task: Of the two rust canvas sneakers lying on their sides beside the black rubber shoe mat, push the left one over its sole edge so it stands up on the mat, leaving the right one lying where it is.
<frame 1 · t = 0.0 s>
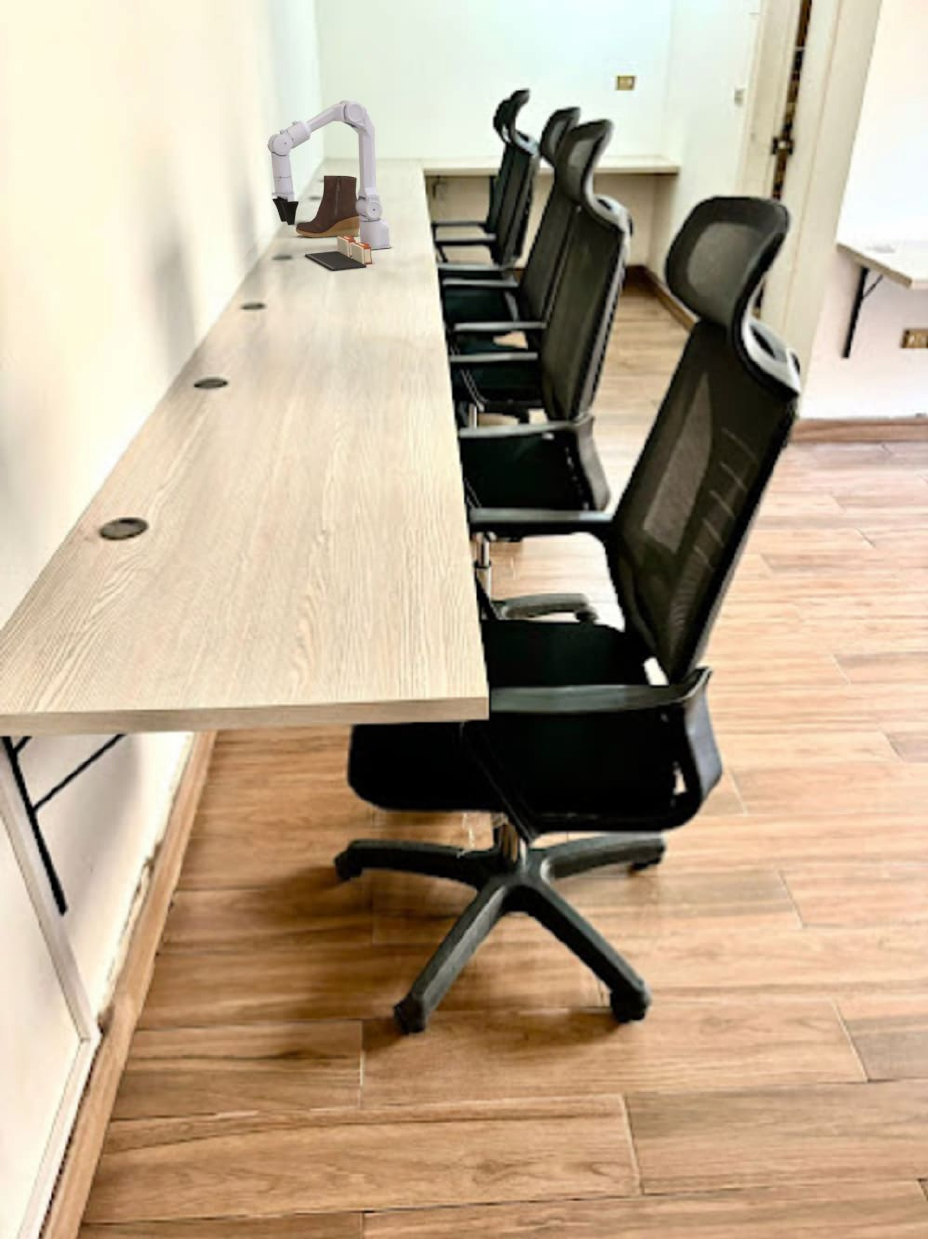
hand: (287, 223, 305), 10 cm above the table, tool pointing down, fingers open, 7 cm apart
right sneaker: (348, 254, 311), on the table
shoe mat: (334, 261, 302), on the table
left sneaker: (363, 261, 300), on the table
boot: (329, 236, 342), on the table
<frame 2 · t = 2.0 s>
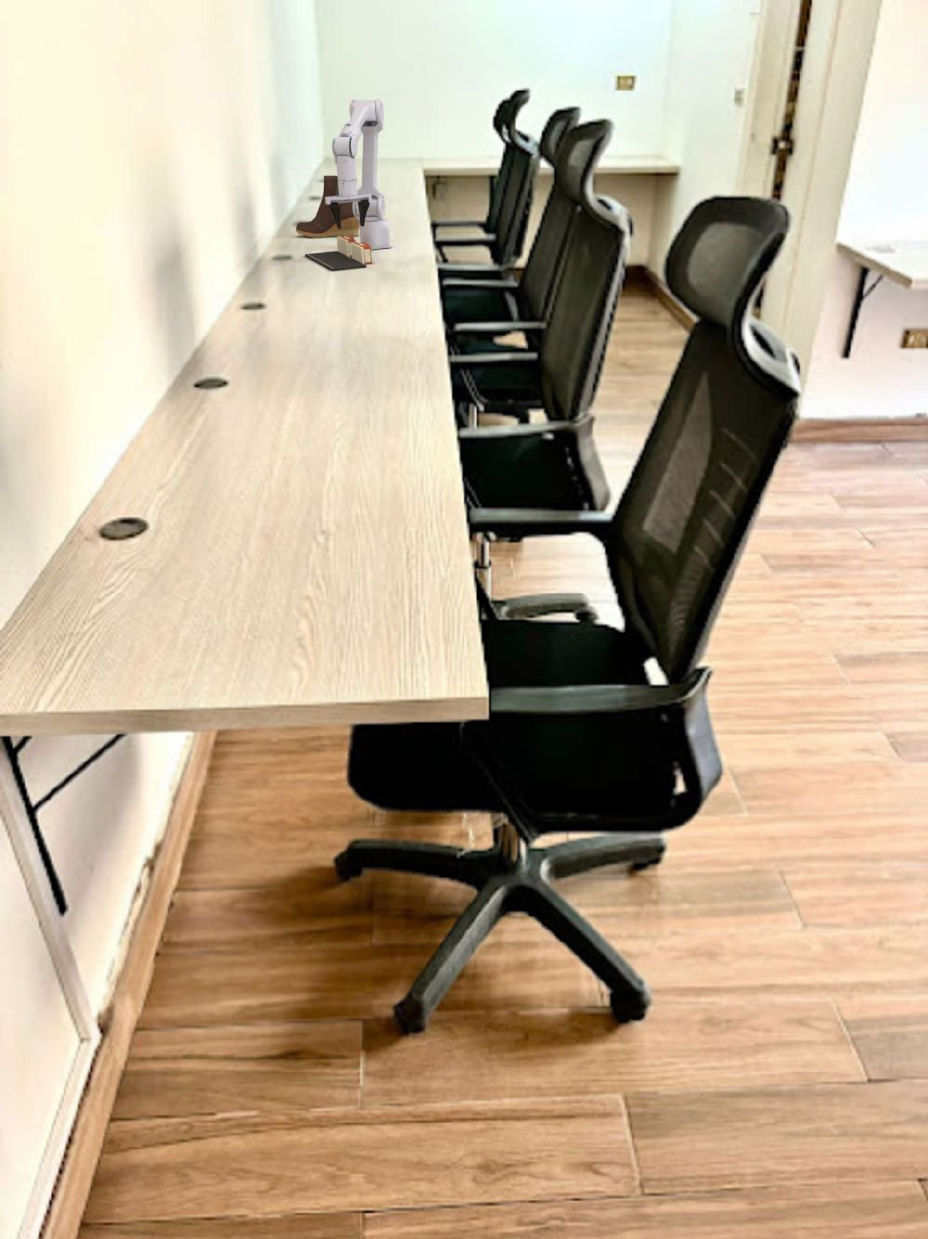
hand: (350, 227, 299), 10 cm above the table, tool pointing down, fingers open, 7 cm apart
nothing on the table moved.
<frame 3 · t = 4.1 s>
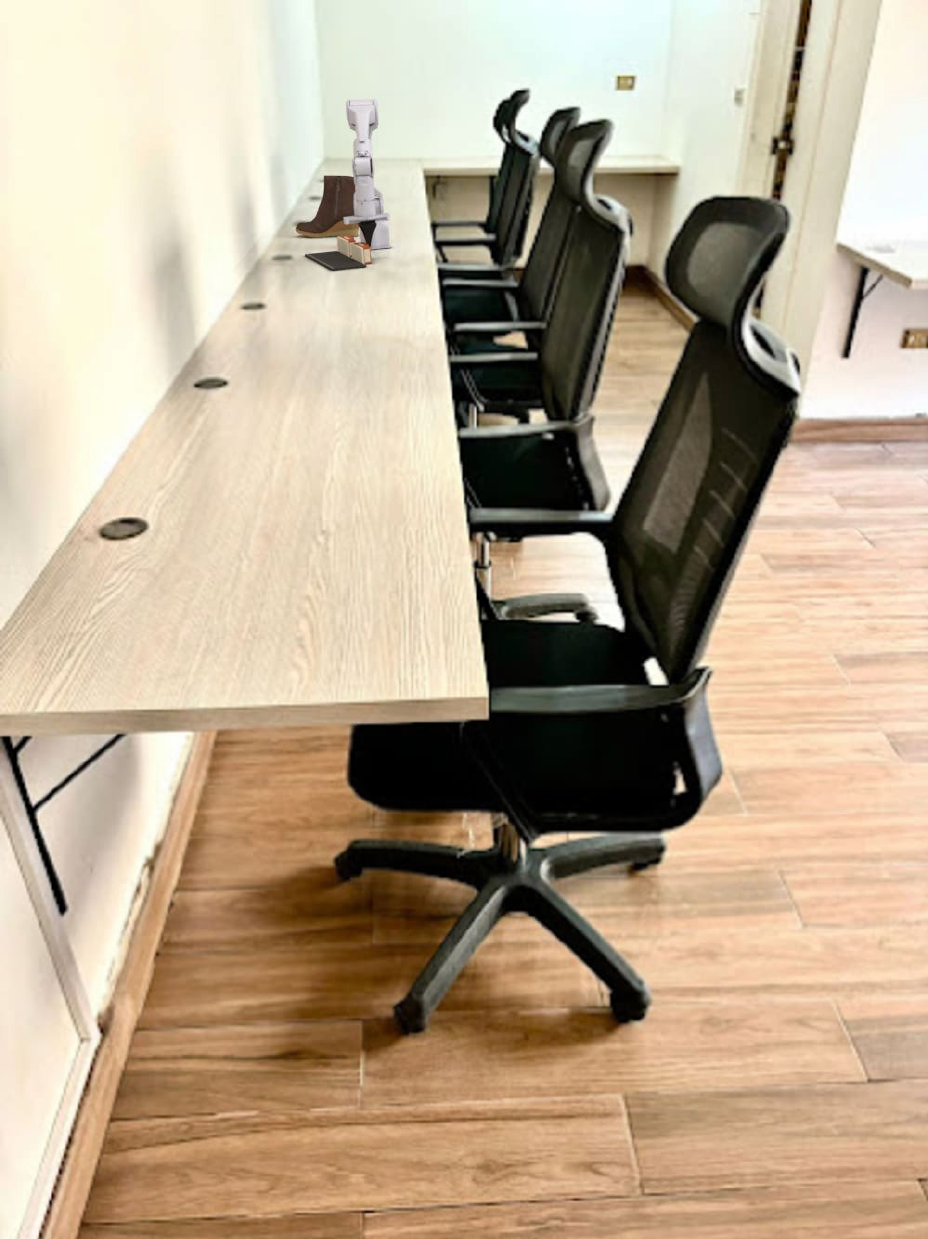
hand: (368, 246, 300), 4 cm above the table, tool pointing down, fingers closed, pressing on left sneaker
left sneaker: (363, 261, 300), on the table, touching gripper
everything else where it was.
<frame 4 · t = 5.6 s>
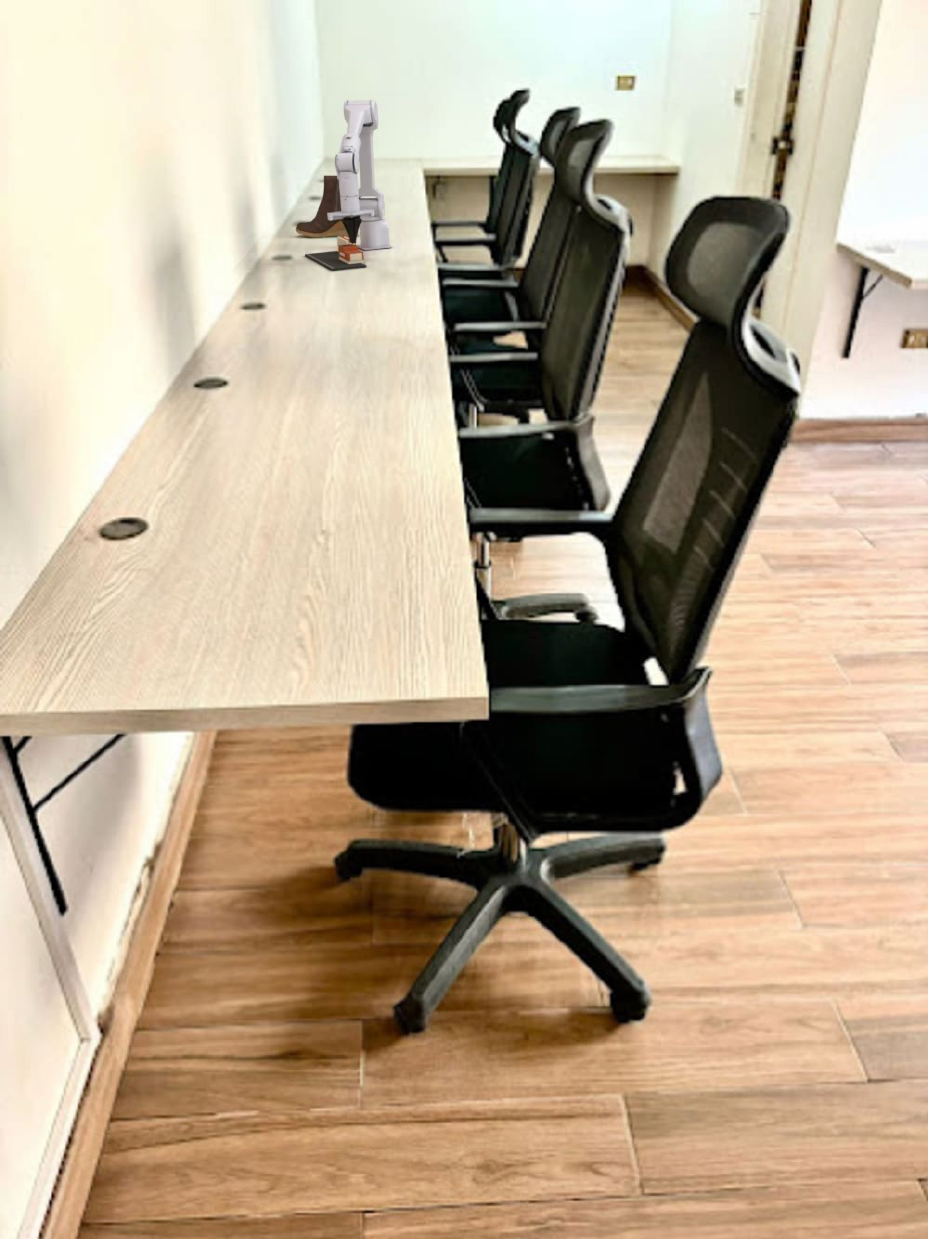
hand: (353, 242, 297), 6 cm above the table, tool pointing down, fingers closed
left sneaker: (358, 253, 299), point 3 cm above the table, tilted 90°, touching shoe mat
everything else where it was.
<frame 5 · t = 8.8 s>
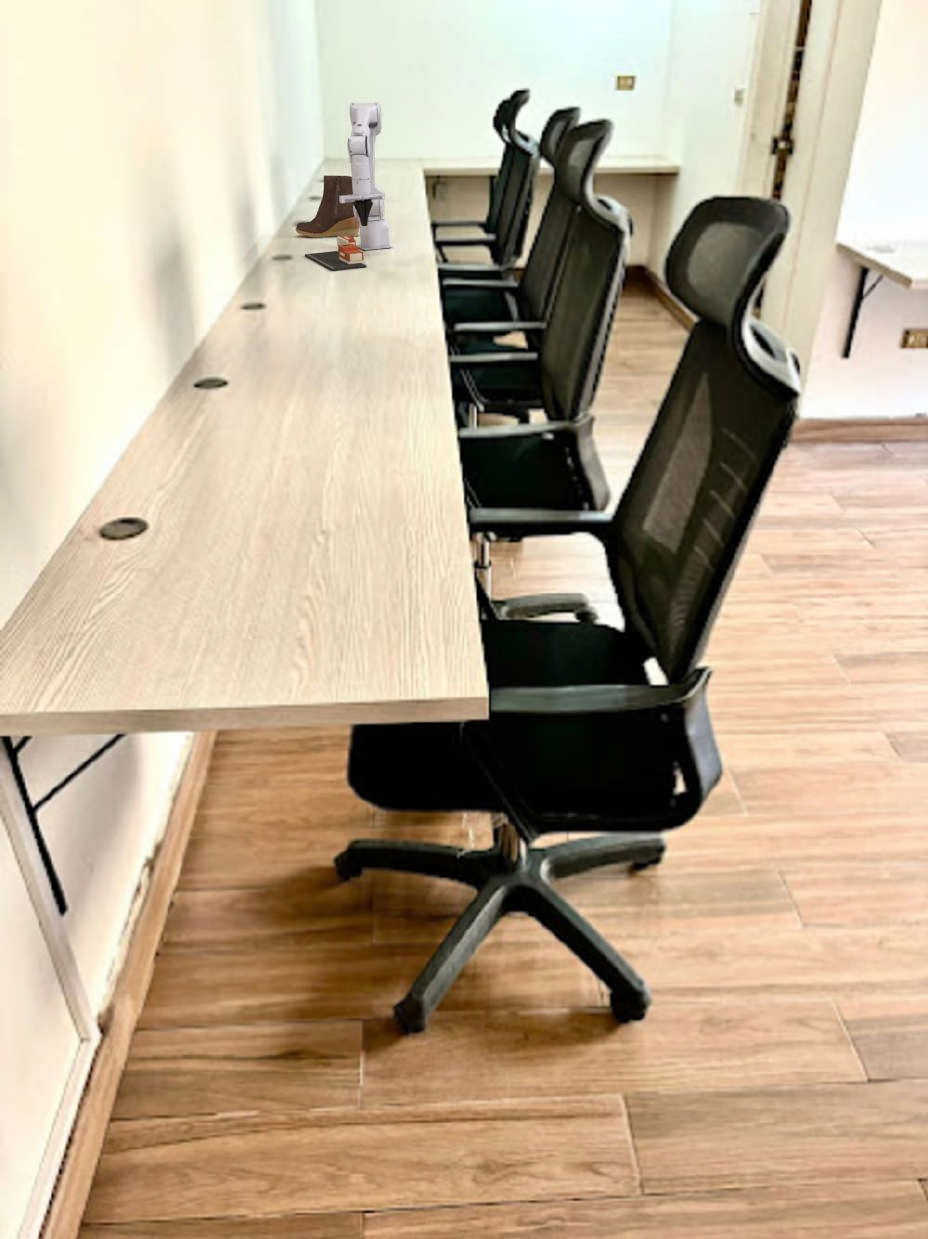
hand: (364, 225, 302), 9 cm above the table, tool pointing down, fingers closed
nothing on the table moved.
at the end: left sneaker tilted 90°; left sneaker 0.8 cm from the target spot, point 2.7 cm above the table; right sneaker moved 0.0 cm from its start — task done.
